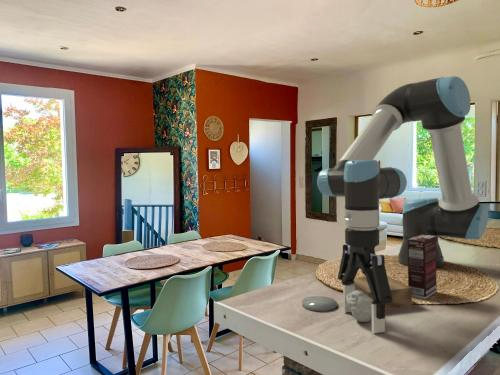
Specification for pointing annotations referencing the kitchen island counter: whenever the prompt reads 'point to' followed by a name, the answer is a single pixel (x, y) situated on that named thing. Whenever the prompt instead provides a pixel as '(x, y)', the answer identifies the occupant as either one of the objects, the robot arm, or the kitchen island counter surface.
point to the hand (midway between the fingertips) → (362, 320)
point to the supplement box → (422, 266)
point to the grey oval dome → (319, 303)
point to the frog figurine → (360, 305)
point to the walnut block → (398, 290)
